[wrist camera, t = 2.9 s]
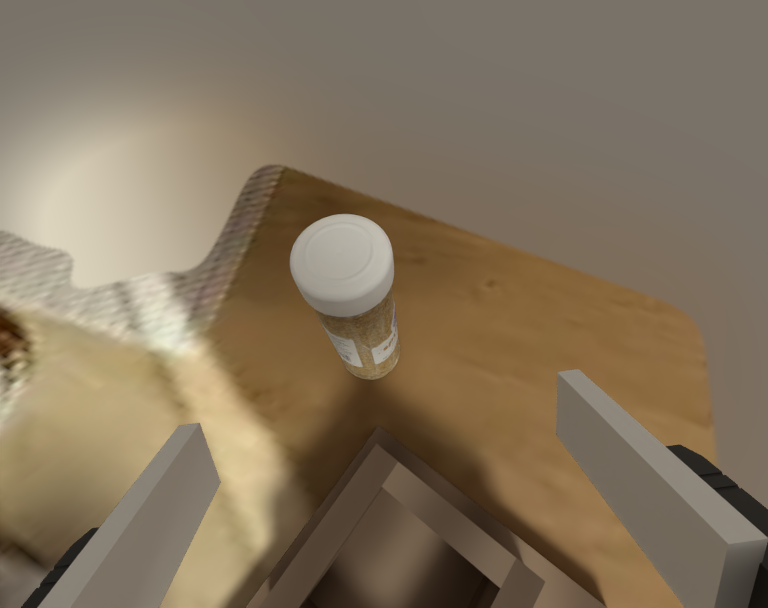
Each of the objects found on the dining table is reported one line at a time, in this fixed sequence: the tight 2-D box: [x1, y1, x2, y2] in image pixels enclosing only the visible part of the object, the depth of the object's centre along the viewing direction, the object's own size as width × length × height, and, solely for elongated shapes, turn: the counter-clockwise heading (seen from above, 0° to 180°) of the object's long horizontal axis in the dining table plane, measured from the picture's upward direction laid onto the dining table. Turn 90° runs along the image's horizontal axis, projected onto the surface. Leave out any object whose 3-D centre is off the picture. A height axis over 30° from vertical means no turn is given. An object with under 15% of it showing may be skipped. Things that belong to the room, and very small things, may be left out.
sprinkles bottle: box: [290, 214, 400, 380], centre depth 22 cm, size 5×5×13 cm
